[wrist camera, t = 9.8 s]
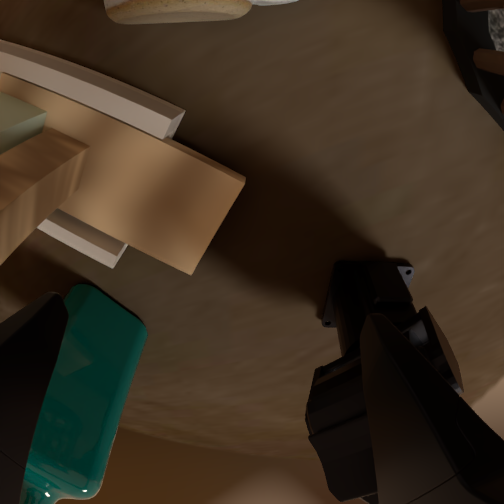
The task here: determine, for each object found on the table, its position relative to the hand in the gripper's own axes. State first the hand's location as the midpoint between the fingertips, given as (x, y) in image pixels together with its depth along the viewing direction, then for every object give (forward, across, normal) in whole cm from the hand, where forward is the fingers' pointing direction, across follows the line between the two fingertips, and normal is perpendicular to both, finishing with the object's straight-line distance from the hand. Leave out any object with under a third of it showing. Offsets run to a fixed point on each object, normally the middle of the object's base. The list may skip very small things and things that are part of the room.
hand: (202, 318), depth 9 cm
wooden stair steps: (+12, +10, 0) cm, 15 cm away
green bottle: (+13, +14, +15) cm, 24 cm away
